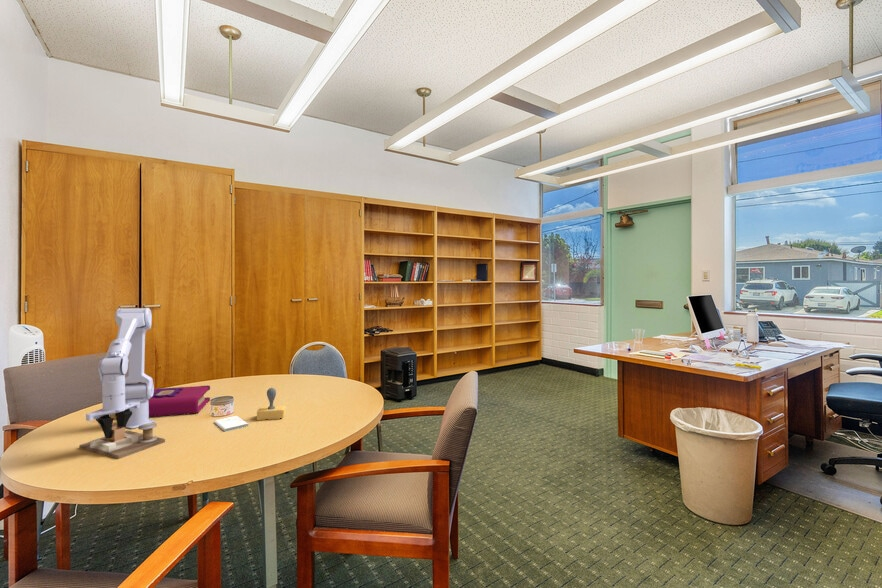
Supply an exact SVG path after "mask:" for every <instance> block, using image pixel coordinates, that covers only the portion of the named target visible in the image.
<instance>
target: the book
mask: <svg viewBox="0 0 882 588" xmlns="http://www.w3.org/2000/svg"><path fill="white" fill-rule="evenodd" d="M210 390H211V385H208V384H207V385H198V386H195V385H194V386H179V387H178V386H177V387H161V388H158V387H157V388H154V393H153V396H152V397H151V399H149V418H153V417H155V418H156V417H164V416H165V417H166V416H167V417H168V416H179V415H193V414H194V415H195V413H196V414H199V413H200V412H201V411H202V410H203V408H205V406H206V405H207V404H208V403H209V402H210V401H211V397H210V396H209V397H208V396H207V397H205V396H204V395H205V394H206V393H207V392H208V391H210ZM206 403H207V404H206Z"/></svg>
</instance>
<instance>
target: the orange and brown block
mask: <svg viewBox="0 0 882 588" xmlns="http://www.w3.org/2000/svg"><path fill="white" fill-rule="evenodd" d="M125 431H126V427H122V426H118V425H117V424H116V425H114V426H113V425H112V437H111V438H110V439H108V438H107V441H108V442H115V441H118V440H121V439H125Z"/></svg>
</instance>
